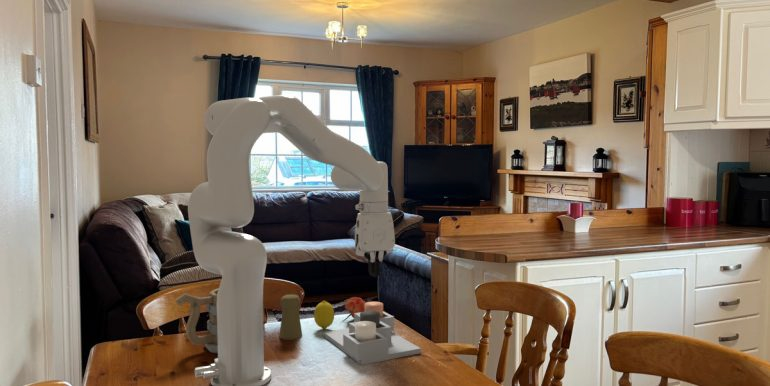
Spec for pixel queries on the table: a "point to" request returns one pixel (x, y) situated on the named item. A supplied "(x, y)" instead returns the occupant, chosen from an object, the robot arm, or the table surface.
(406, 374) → the table surface
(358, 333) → the cream button
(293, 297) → the olive green shaker
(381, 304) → the terracotta button
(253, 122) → the robot arm
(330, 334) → the grey stepped holder base
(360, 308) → the red flower
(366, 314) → the black button
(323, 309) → the lemon
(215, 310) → the tankard
